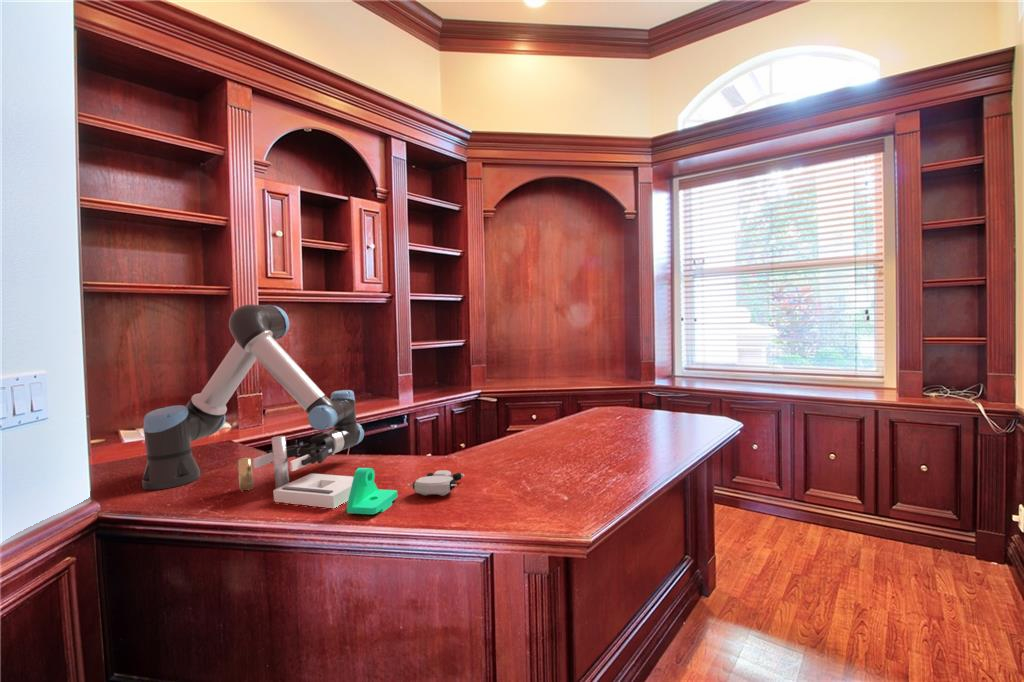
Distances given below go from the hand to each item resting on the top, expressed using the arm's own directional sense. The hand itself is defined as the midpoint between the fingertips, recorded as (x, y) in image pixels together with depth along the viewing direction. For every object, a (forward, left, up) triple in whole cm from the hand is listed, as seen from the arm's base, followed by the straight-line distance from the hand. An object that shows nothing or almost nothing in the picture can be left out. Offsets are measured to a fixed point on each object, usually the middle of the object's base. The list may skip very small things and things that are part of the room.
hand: (272, 465), depth 136 cm
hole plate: (+5, +13, -9) cm, 17 cm away
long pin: (-3, +2, -9) cm, 10 cm away
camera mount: (+19, +28, -9) cm, 35 cm away
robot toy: (+13, +45, -9) cm, 47 cm away
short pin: (-10, -10, -9) cm, 17 cm away
